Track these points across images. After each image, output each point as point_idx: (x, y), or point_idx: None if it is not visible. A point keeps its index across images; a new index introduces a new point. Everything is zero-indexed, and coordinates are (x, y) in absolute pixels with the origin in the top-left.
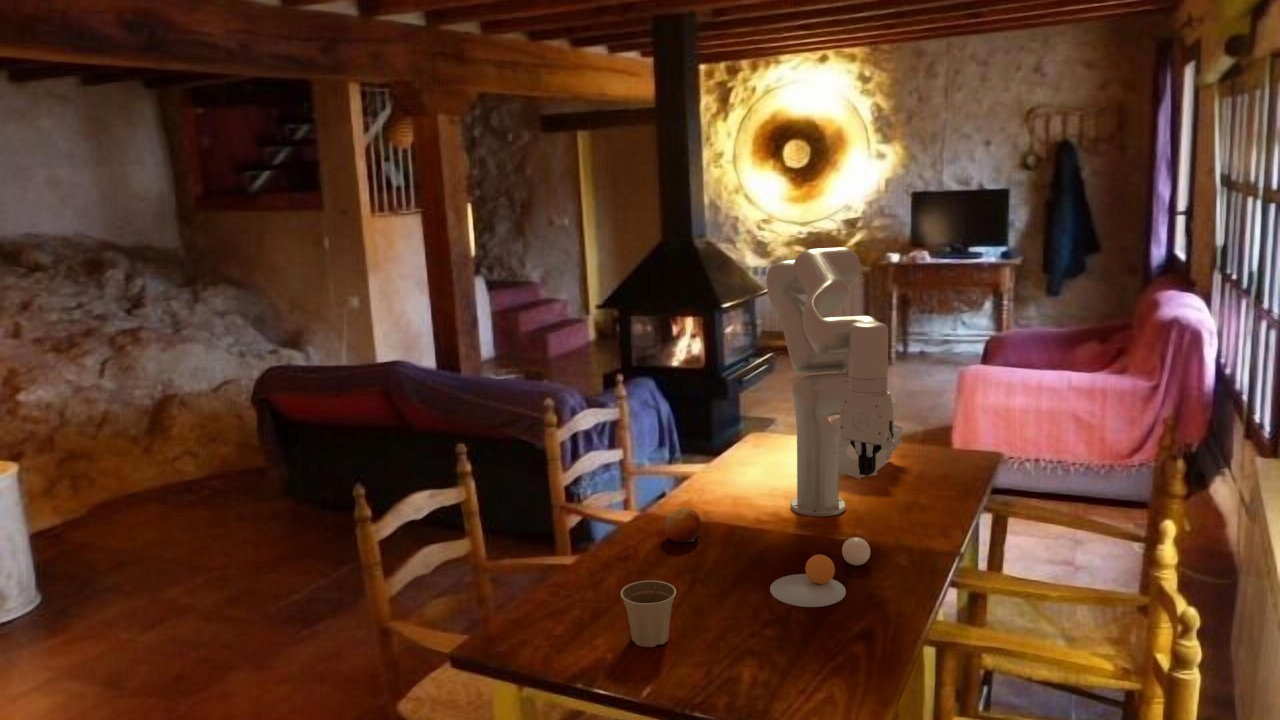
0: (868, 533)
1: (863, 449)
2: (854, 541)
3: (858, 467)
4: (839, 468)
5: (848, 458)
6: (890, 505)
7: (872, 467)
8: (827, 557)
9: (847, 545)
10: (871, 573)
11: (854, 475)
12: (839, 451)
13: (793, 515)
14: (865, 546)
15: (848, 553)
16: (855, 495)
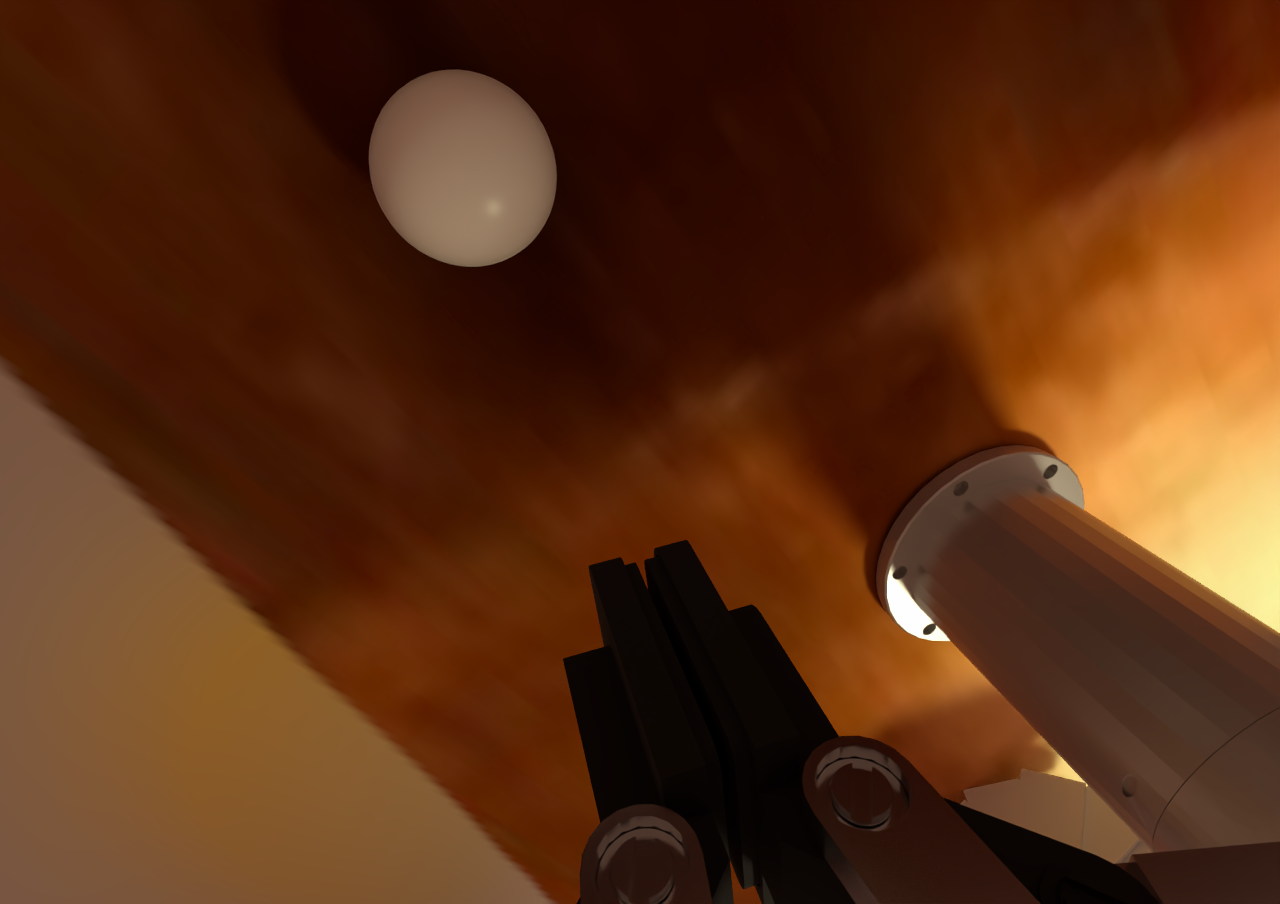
0: (677, 511)
1: (836, 901)
2: (448, 137)
3: (756, 608)
4: (1047, 783)
5: (1051, 835)
6: None
7: (574, 703)
8: None
9: (477, 94)
10: (301, 118)
11: (987, 790)
12: (1100, 842)
13: (1020, 418)
14: (384, 180)
15: (448, 72)
16: (913, 707)
